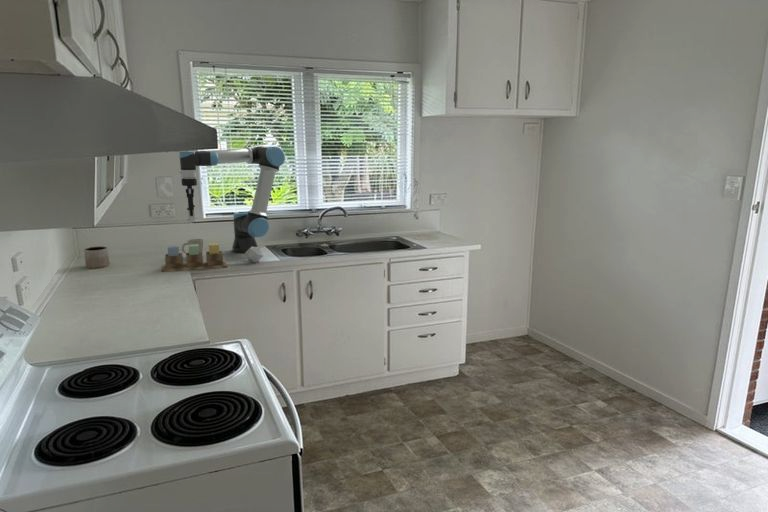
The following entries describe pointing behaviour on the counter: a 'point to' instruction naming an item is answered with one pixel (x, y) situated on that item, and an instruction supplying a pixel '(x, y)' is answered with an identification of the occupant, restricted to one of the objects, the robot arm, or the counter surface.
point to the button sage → (194, 249)
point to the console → (193, 262)
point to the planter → (96, 257)
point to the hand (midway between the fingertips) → (191, 220)
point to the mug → (194, 241)
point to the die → (254, 254)
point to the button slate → (173, 250)
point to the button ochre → (213, 248)
